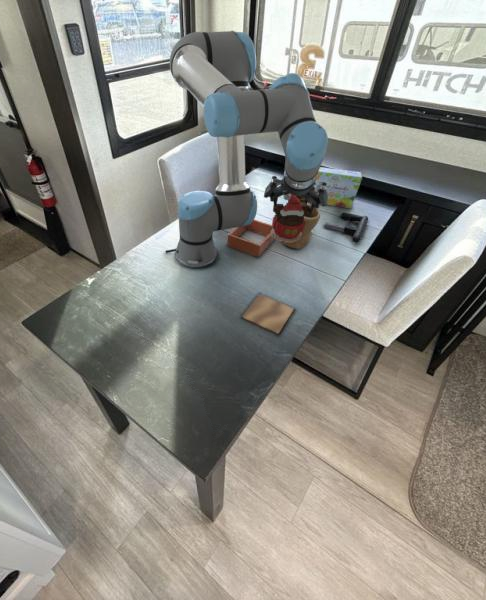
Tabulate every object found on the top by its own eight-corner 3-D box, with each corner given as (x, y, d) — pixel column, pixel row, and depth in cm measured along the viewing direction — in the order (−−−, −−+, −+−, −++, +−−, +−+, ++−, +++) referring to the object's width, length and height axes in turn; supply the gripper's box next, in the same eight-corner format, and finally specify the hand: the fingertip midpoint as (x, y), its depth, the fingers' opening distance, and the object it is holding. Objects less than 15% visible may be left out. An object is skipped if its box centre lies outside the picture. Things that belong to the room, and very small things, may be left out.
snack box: (304, 202, 148) (312, 170, 137) (305, 196, 152) (312, 165, 141) (351, 209, 144) (362, 176, 133) (350, 203, 148) (362, 171, 137)
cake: (299, 228, 103) (312, 173, 90) (305, 244, 96) (321, 188, 84) (266, 228, 103) (275, 173, 90) (271, 244, 96) (281, 187, 84)
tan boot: (304, 255, 118) (314, 219, 108) (275, 244, 123) (282, 209, 112) (319, 237, 127) (329, 202, 116) (292, 227, 132) (300, 193, 121)
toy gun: (321, 228, 127) (363, 238, 121) (334, 208, 139) (372, 215, 133) (320, 235, 129) (361, 245, 123) (332, 214, 142) (370, 222, 135)
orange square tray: (227, 245, 122) (227, 234, 118) (245, 227, 131) (247, 217, 128) (258, 257, 117) (260, 246, 113) (275, 237, 126) (277, 227, 123)
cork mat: (241, 317, 95) (241, 316, 95) (259, 294, 102) (259, 293, 102) (278, 334, 91) (278, 333, 90) (293, 309, 98) (294, 308, 97)
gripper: (249, 183, 76) (254, 212, 98) (346, 197, 71) (328, 224, 93) (256, 153, 76) (259, 188, 98) (354, 165, 71) (334, 199, 93)
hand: (293, 206), depth 95 cm, fingers closed on cake, 10 cm apart
